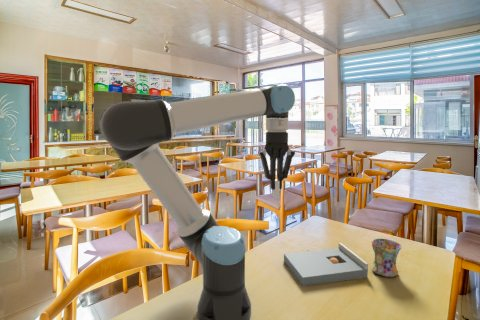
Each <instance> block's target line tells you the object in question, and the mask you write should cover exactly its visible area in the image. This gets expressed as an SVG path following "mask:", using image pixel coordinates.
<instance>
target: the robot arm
mask: <svg viewBox="0 0 480 320" xmlns="http://www.w3.org/2000/svg"><path fill="white" fill-rule="evenodd" d="M295 102H296V96H295V92H294V90H293V88H292V87H290V86H289V85H288V84H284V83H272V84H267V85H266V86H265V87H257V88H250V89H249V88H248V89H247V88H243V89H242V88H240V89H239V88H238V89H237V90H235V91H234V92H229V93H221V94H216V95H210V96H203V97H197V98H191V99H186V100H180V101H179V100H178V101H174V102H166V101H165V100H163V99H158V100H151V101H148V100H147V101H129V100H128V101H127V100H126V101H125V100H124V101H120V102H119V101H118V102H116V103H114V104H111V105H109V106H107V107H106V108H104V110H103V111H102V112H101V114H100V116H99V119H98V130H99V132H100V133H99V134H100V135H101V136H102V138H103V139H104V140H105V141H106V142H107V143H108V145H110V147H111V148H112V149H113V151H114V153H116V155H117V156H118V157H119V159H120V160H121V161H122V162H123V163H130V164H131V165H132V166H133V168H134V169H135V170H136V172H137V173H138V174H139V176H140V177H141V178H142V179H143V181H144V182H145V184H146V185H147V186H148V188H149V189H150V191H151V192H152V194H154V196H155V197H156V199H157V200H158V201H159V202H160V204H161V205H162V207H163V208H164V209H165V210H166V212H167V213H168V215H169V216H170V217H171V218H172V220H173V222H174V223H175V224H176V225H177V227H176V234H177V235H178V236H179V238H180V239H181V241H182V242H183V244H184V246H185V247H186V249H187V250H188V251H189V252H190V253H191V254H192V255H193V257H194V258H195V259H196V260H197V262H198V263H199V264H200V265H201V268H202V284H203V285H202V286H203V287H202V290H201V293H200V297H199V300H198V303H197V317H198V318H197V319H198V320H250V318H251V315H252V303H251V299H250V297H249V294H248V291H247V288H246V285H245V284H246V244H245V237H244V235H243V233H241V232H240V231H239V230H238V229H237V228H234V227H229V226H225V225H219V224H218V221H216V219H215V218H214V217H213V215H212V213H211V212H210V210H208V209H206V208H201V206H200V205H199V203H198V202H197V200H196V199H195V197H194V196H193V194H192V193H191V191H190V190H189V189H188V187H187V185H186V184H185V183H184V181H183V180H182V179H181V176H180V175H179V174H178V173H177V171H176V170H175V168H174V166H173V165H172V164H171V163H170V161H169V159H168V158H167V156H166V154H164V152H163V151H162V149H161V147H160V146H159V145H160V143H163V142H168V141H171V140H173V138H174V136H175V135H181V134H184V133H189V132H193V131H199V130H202V129H203V130H204V129H207V128H211V127H216V126H222V125H225V124H230V123H235V122H239V121H244V120H249V119H253V118H258V117H261V116H263V117H264V116H265V131H266V132H265V145H264V149H262V150H259V151H258V152H257V153H258V156H259V157H260V159H261V165H262V169H263V174H264V176H265V178H266V179H268V180H269V181H270V182H269V183H270V185H269V187H270V189H271V190H272V198H273V199H274V200H279V199H280V190H282V188H283V180H285V179H288V177H289V172H290V168H291V164H292V159H293V158H294V156H295V155H296V152H295V151H294V150H292V149H290V146H289V144H288V142H289V132H288V130H289V111H291V110H292V109H293V107H294V105H295ZM285 155H286V157H285ZM266 156H269V161H270V162H269V163H270V165H268V160H267V157H266ZM284 157H285V159H284ZM284 160H285V161H284Z"/></svg>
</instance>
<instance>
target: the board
mask: <svg viewBox="0 0 480 320" xmlns="http://www.w3.org/2000/svg"><path fill="white" fill-rule="evenodd" d="M331 258H336V259H337V260H338V261H339V263H337V264H333V263H332V262H331V261H330V259H331ZM283 263H285V265H286V266H287V267H288V269H289V271H290V272H291V273H292V274H293V275H294V277H295V278H296V279H297V281H298V282H299V283H300V285H301V286H302V287H305V286H314V285H321V284H322V285H323V284H328V283H333V282H334V283H336V282H343V281H349V280H356V279H357V280H358V279H364V278H368V274H369V263H368V262H367V261H365V260H364V259H363V258H361V257H360V256H359V255H357V253H355V252H353V250H351V249H350V248H349V247H347V246H346V245H344V244H343V243H342V242H339V243H338V247H333V248H325V249H324V248H323V249H316V250H315V249H314V250H306V251H298V252H290V253H289V252H288V253H284V254H283Z"/></svg>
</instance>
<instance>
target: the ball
mask: <svg viewBox="0 0 480 320" xmlns="http://www.w3.org/2000/svg"><path fill="white" fill-rule="evenodd" d="M330 261H331V262H332V263H333V264H337V263H339V261H338V260H337V259H336V258H331V259H330Z"/></svg>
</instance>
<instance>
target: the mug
mask: <svg viewBox="0 0 480 320" xmlns="http://www.w3.org/2000/svg"><path fill="white" fill-rule="evenodd" d="M371 247H372V250H373V252H374V260H373V263H372V265H371V266H370V267H371V270H372V271H373V272H374V273H375V274H378V275H379V276H382V277H387V278H391V277H396V276H397V275H398V273H399V270H398V269H397V257H398V255H399V253H400V251H401V250H402V244H400V243H399V242H397V241H394V240H391V239H389V238H375V239H372V241H371Z"/></svg>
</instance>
